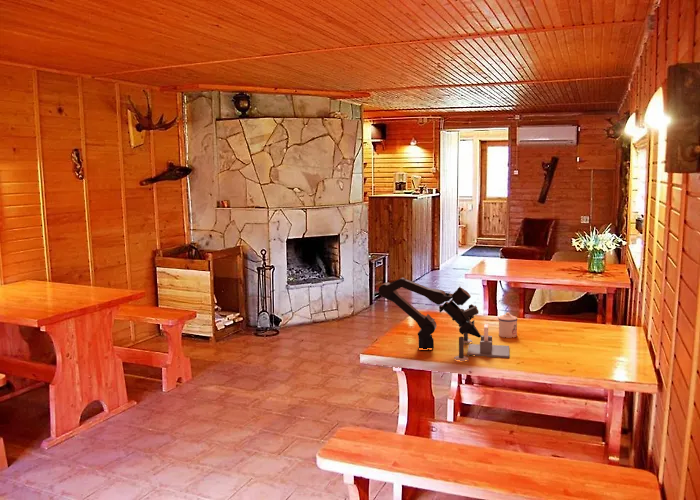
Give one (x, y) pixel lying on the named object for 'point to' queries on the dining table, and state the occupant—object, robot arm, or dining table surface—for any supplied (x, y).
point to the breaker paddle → (485, 332)
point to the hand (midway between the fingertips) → (480, 336)
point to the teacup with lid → (507, 326)
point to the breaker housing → (488, 349)
